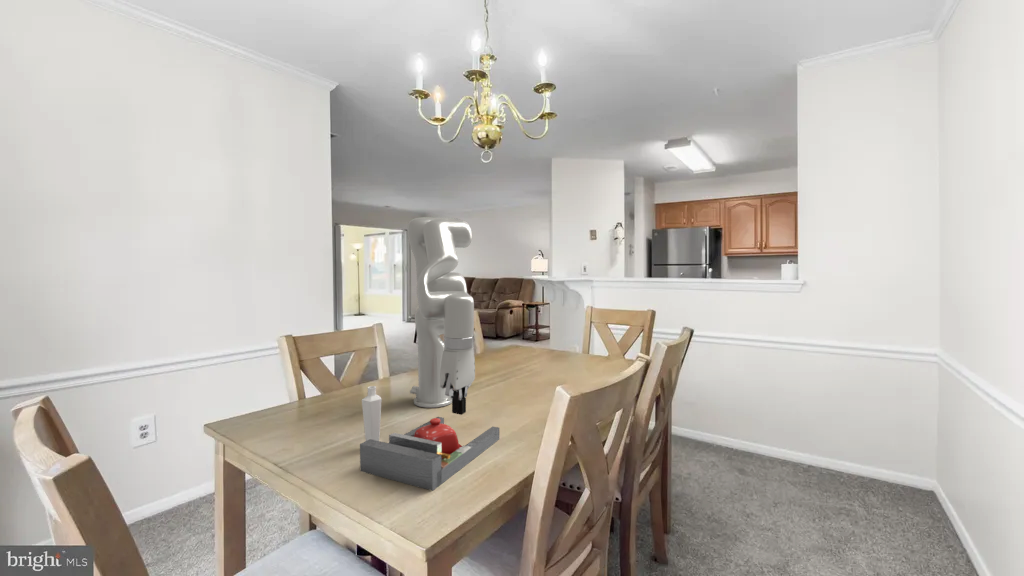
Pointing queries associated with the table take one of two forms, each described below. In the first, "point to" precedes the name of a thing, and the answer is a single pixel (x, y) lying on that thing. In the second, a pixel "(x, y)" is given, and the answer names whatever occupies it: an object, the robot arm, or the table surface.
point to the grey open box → (420, 460)
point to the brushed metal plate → (418, 444)
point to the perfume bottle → (372, 414)
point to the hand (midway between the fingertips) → (458, 412)
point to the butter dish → (439, 435)
